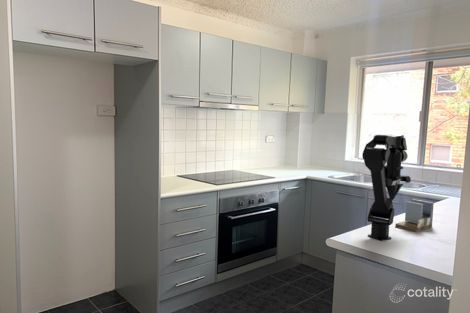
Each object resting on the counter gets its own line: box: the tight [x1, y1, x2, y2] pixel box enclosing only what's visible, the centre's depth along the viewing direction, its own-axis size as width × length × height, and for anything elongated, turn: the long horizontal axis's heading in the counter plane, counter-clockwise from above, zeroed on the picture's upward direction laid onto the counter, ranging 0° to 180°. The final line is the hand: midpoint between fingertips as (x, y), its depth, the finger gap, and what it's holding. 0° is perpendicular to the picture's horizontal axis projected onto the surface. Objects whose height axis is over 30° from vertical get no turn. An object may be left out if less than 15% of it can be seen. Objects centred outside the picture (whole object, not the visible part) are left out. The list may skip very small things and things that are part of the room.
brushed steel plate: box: [410, 198, 434, 225], centre depth 162 cm, size 2×9×10 cm, turn 36°
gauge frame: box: [395, 217, 433, 233], centre depth 159 cm, size 14×9×5 cm, turn 126°
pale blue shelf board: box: [404, 200, 429, 224], centre depth 158 cm, size 4×9×9 cm, turn 36°
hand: (391, 199), depth 153 cm, fingers closed
